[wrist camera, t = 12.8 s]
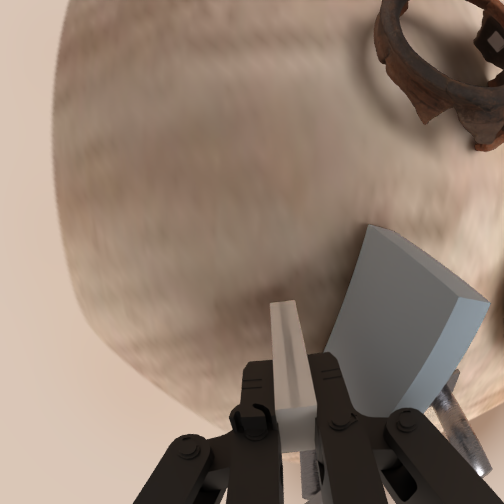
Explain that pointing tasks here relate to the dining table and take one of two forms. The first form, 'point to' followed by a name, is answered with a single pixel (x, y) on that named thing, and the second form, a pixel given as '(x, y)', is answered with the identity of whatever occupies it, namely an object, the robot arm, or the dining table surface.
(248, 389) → the robot arm
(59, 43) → the dining table surface
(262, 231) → the dining table surface
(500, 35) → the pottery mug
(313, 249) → the dining table surface
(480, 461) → the post
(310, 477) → the hinge post
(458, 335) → the gate
